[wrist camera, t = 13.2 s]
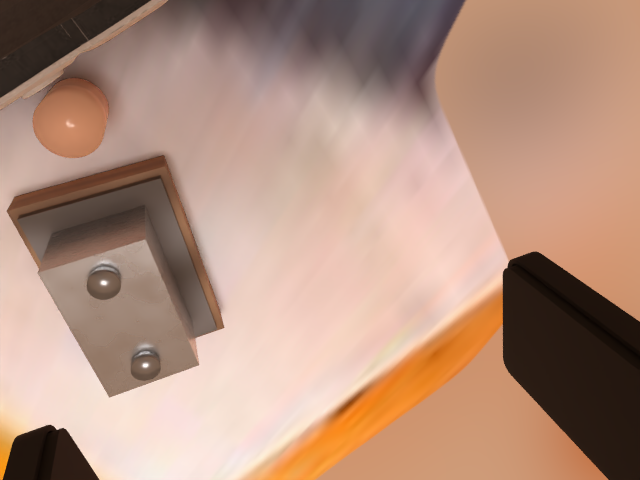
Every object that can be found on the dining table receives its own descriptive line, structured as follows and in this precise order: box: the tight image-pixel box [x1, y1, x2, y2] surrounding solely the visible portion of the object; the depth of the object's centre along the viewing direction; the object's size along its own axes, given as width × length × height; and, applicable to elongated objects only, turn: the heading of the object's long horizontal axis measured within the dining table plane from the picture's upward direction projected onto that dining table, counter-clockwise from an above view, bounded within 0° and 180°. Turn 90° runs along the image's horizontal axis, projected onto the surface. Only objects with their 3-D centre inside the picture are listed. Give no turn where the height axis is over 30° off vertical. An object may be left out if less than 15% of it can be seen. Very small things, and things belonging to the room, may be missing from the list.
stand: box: [7, 156, 224, 338], centre depth 37 cm, size 14×10×3 cm
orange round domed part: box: [33, 78, 109, 158], centre depth 31 cm, size 4×4×5 cm
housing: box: [38, 205, 199, 397], centre depth 33 cm, size 10×6×6 cm, turn 11°
